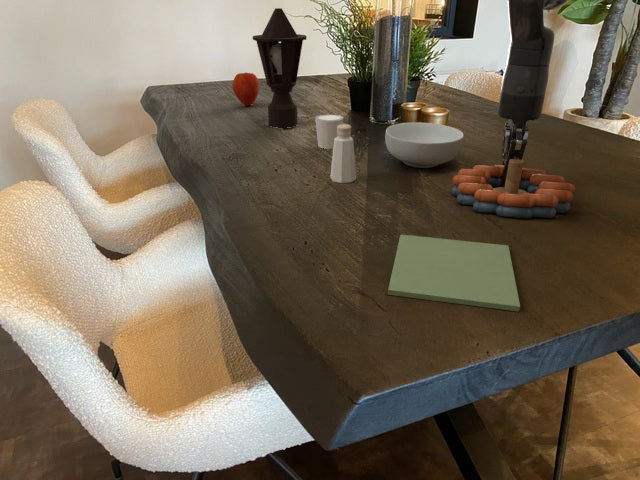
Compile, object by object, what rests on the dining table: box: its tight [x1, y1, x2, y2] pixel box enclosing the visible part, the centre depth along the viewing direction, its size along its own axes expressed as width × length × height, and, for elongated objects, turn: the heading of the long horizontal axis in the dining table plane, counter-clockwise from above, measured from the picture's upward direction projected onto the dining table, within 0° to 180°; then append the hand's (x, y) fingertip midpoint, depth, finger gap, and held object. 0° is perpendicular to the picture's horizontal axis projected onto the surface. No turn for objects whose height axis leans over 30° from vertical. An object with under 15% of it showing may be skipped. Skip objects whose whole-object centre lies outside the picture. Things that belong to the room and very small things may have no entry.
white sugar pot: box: [314, 114, 344, 150], centre depth 119 cm, size 7×7×7 cm
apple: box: [232, 71, 260, 106], centre depth 158 cm, size 9×8×11 cm
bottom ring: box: [450, 176, 573, 219], centre depth 89 cm, size 21×17×2 cm
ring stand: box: [493, 159, 528, 195], centre depth 88 cm, size 8×8×8 cm
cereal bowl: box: [384, 121, 465, 169], centre depth 107 cm, size 17×17×7 cm
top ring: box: [452, 164, 576, 207], centre depth 89 cm, size 21×17×2 cm
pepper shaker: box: [329, 123, 357, 184], centre depth 98 cm, size 5×5×11 cm
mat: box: [387, 234, 521, 313], centre depth 68 cm, size 16×16×1 cm
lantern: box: [251, 7, 307, 128], centre depth 131 cm, size 15×15×30 cm
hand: (506, 180), depth 96 cm, fingers closed on top ring, 2 cm apart
